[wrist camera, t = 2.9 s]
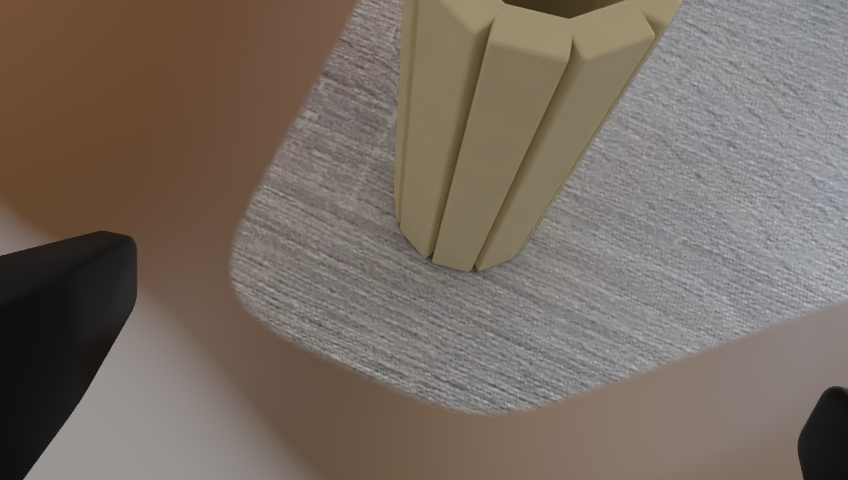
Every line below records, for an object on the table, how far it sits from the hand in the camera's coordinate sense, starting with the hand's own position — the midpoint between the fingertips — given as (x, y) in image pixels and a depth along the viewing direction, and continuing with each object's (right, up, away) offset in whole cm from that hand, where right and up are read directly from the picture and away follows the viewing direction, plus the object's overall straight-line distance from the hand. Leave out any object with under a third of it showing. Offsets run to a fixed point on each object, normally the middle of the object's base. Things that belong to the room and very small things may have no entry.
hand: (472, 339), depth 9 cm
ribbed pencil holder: (+1, +3, +14) cm, 15 cm away
